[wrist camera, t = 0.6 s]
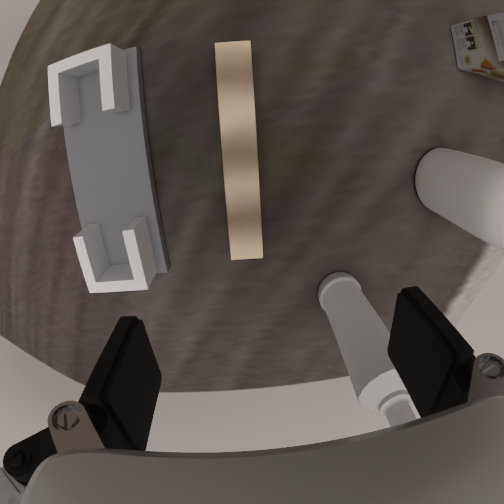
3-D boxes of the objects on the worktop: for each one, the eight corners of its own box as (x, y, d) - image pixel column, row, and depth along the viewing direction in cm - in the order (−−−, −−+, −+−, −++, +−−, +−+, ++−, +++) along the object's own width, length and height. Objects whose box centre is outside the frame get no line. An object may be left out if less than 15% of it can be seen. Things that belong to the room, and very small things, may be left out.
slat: (218, 54, 26) (214, 42, 22) (248, 52, 26) (250, 40, 22) (232, 242, 34) (231, 260, 30) (260, 240, 34) (263, 257, 30)
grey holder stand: (66, 72, 25) (39, 67, 20) (140, 49, 25) (121, 36, 20) (100, 272, 34) (82, 295, 29) (170, 266, 34) (159, 291, 29)
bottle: (326, 314, 38) (395, 499, 15) (309, 283, 36) (383, 485, 13) (362, 294, 37) (460, 466, 14) (348, 262, 35) (461, 444, 12)
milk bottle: (406, 204, 32) (531, 289, 14) (419, 139, 29) (563, 178, 11) (453, 214, 33) (568, 290, 15) (466, 155, 30) (595, 202, 12)
